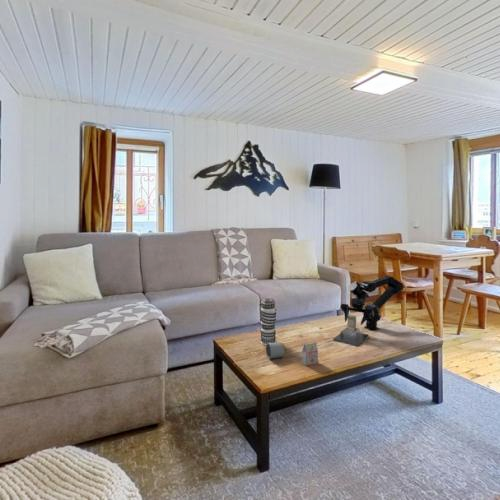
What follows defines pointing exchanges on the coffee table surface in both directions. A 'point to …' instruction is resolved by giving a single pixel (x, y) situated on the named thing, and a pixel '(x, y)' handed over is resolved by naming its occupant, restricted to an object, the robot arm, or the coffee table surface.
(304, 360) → the small box
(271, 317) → the decorative candle
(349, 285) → the robot arm
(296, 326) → the coffee table surface
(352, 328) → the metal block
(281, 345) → the ceramic mug
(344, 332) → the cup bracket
